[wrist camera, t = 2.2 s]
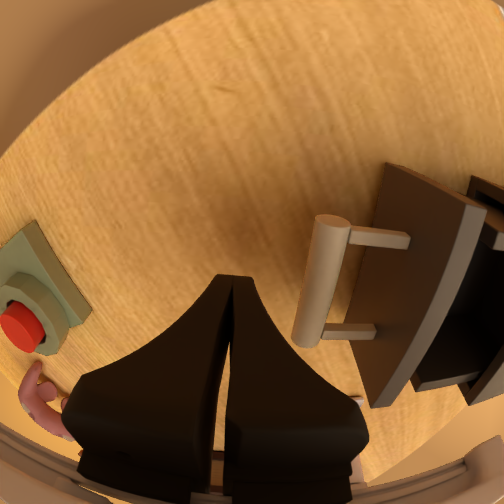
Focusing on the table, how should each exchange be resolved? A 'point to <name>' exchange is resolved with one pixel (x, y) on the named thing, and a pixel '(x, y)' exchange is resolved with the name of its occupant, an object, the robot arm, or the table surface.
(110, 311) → the table surface
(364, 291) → the drawer
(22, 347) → the button
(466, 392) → the cabinet
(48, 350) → the olive button base
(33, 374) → the pink pronged piece
